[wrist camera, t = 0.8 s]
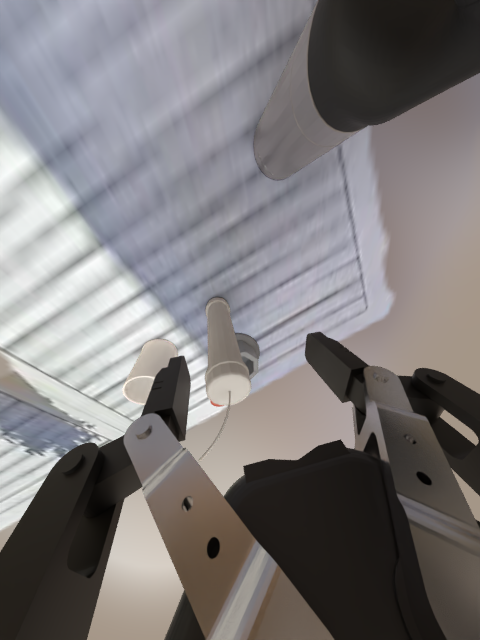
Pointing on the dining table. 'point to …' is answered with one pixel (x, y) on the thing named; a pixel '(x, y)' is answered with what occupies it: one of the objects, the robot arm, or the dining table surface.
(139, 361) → the mug
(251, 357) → the valve socket
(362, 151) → the dining table surface
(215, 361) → the pipe
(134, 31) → the dining table surface
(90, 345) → the dining table surface
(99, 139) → the dining table surface
